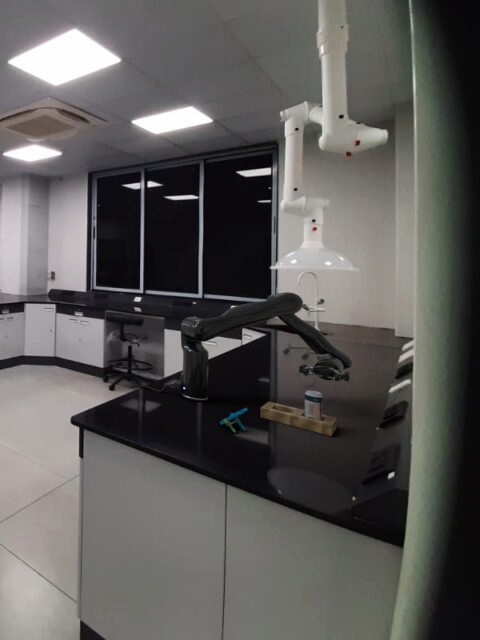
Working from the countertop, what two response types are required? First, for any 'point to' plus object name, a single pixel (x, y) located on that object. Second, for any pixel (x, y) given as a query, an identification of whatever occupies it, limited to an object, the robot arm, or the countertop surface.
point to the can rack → (298, 418)
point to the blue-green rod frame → (235, 418)
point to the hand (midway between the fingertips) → (320, 375)
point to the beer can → (313, 405)
